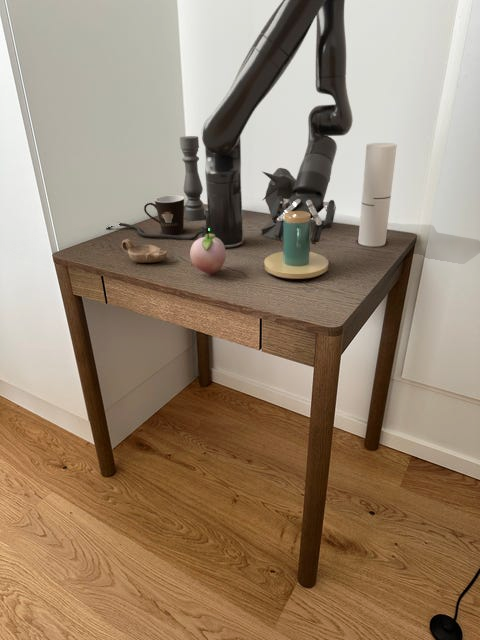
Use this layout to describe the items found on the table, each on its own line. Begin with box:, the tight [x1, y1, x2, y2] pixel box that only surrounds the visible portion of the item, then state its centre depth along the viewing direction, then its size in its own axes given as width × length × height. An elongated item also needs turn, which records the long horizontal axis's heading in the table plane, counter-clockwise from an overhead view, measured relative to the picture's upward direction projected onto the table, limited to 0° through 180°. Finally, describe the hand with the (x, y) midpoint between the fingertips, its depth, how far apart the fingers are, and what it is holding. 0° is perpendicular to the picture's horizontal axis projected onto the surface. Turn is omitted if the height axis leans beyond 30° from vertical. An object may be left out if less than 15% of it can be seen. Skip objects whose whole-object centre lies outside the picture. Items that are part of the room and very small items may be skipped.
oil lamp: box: [120, 238, 168, 264], centre depth 117 cm, size 13×8×5 cm, turn 61°
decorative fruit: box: [189, 233, 227, 275], centre depth 106 cm, size 9×8×10 cm
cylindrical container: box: [357, 142, 398, 248], centre depth 119 cm, size 7×7×25 cm
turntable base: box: [273, 275, 318, 282], centre depth 108 cm, size 12×12×1 cm
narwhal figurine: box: [261, 167, 297, 242], centre depth 133 cm, size 14×15×18 cm
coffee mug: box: [143, 194, 185, 236], centre depth 137 cm, size 12×9×10 cm
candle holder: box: [179, 135, 206, 222], centre depth 146 cm, size 6×6×25 cm
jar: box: [263, 211, 329, 279], centre depth 105 cm, size 15×15×12 cm
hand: (295, 240), depth 104 cm, fingers open, 8 cm apart
